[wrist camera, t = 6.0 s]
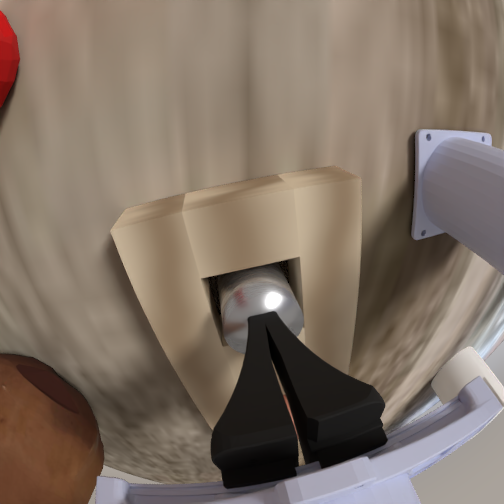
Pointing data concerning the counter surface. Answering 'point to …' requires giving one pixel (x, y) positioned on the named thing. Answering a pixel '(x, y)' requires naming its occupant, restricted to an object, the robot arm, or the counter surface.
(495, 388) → the base with upright slab
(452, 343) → the counter surface
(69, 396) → the butternut squash
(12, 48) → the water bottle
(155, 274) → the socket block
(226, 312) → the steel plunger
